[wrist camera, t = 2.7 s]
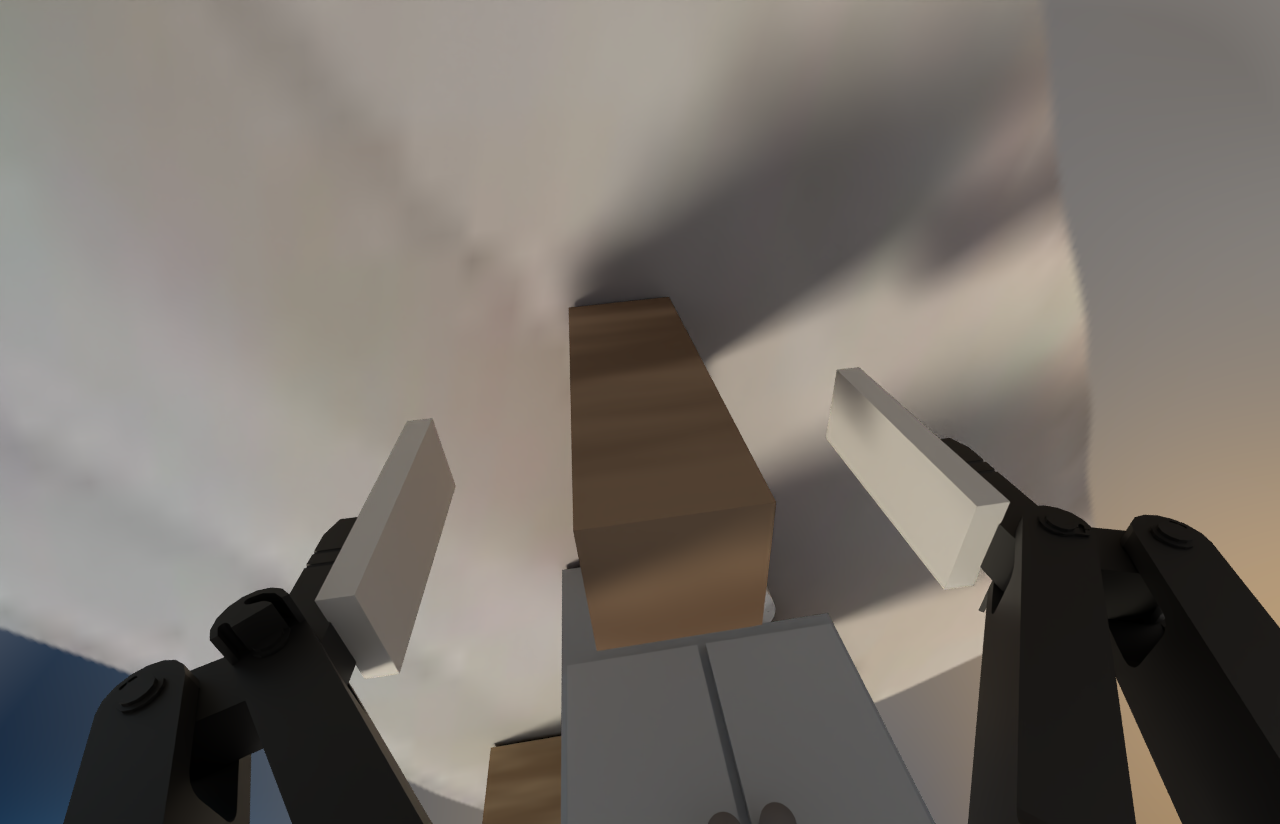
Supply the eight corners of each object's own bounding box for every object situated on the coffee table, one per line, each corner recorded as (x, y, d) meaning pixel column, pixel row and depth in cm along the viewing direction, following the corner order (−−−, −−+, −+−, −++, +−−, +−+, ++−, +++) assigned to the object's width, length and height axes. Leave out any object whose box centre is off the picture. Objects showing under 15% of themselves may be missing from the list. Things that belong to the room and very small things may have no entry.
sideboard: (550, 553, 27) (523, 1437, 9) (798, 518, 28) (1206, 1252, 10) (581, 682, 34) (599, 1323, 16) (778, 650, 35) (999, 1221, 17)
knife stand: (490, 747, 37) (476, 871, 31) (753, 703, 38) (787, 813, 32) (502, 770, 39) (490, 890, 33) (750, 727, 40) (782, 835, 34)
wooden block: (568, 307, 20) (573, 530, 9) (668, 296, 20) (775, 502, 10) (610, 586, 29) (635, 849, 19) (678, 576, 29) (738, 829, 19)
